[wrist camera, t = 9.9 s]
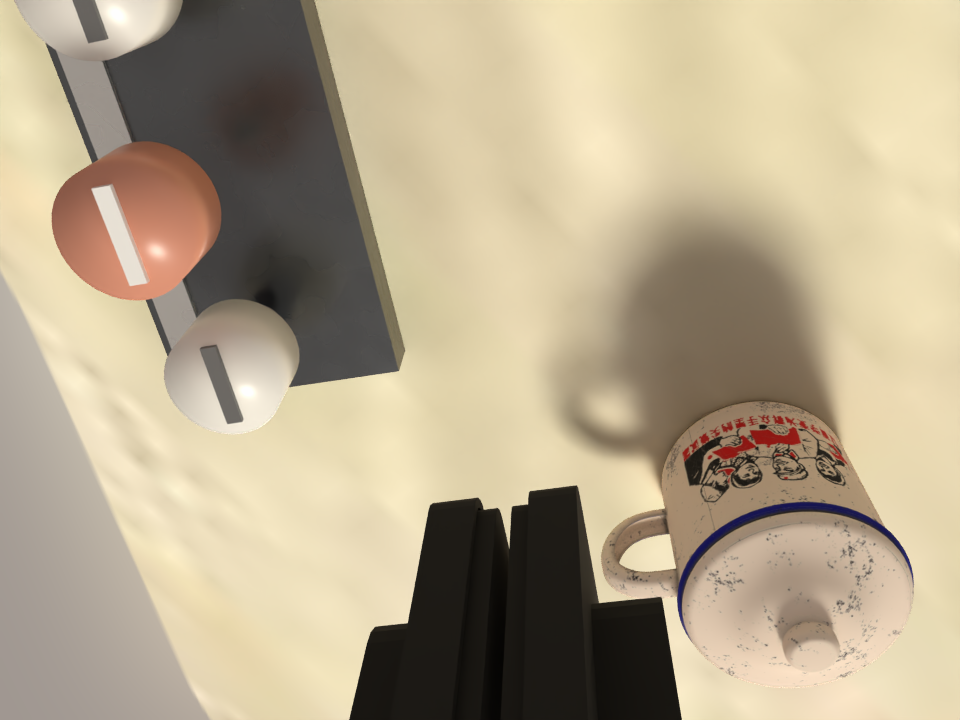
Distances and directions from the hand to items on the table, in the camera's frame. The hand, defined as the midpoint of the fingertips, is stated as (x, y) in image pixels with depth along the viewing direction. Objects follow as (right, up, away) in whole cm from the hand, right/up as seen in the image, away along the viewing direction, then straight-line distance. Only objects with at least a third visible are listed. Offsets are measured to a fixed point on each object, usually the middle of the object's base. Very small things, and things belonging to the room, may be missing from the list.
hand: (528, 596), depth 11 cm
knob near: (-12, +16, +22) cm, 30 cm away
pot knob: (-11, +9, +22) cm, 27 cm away
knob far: (-10, +4, +28) cm, 30 cm away
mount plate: (-11, +12, +28) cm, 32 cm away
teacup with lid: (+11, -3, +34) cm, 36 cm away
